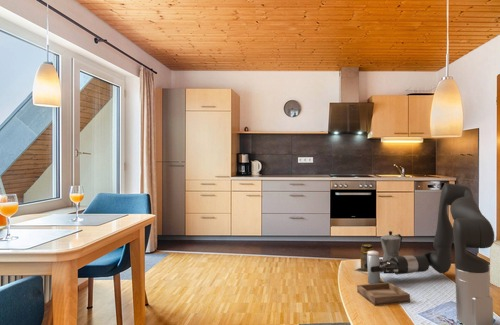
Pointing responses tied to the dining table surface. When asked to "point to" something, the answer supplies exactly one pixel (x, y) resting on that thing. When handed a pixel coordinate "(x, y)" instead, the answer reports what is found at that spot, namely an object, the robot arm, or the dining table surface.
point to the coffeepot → (391, 245)
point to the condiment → (364, 257)
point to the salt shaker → (372, 261)
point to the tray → (383, 293)
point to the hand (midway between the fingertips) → (367, 267)
